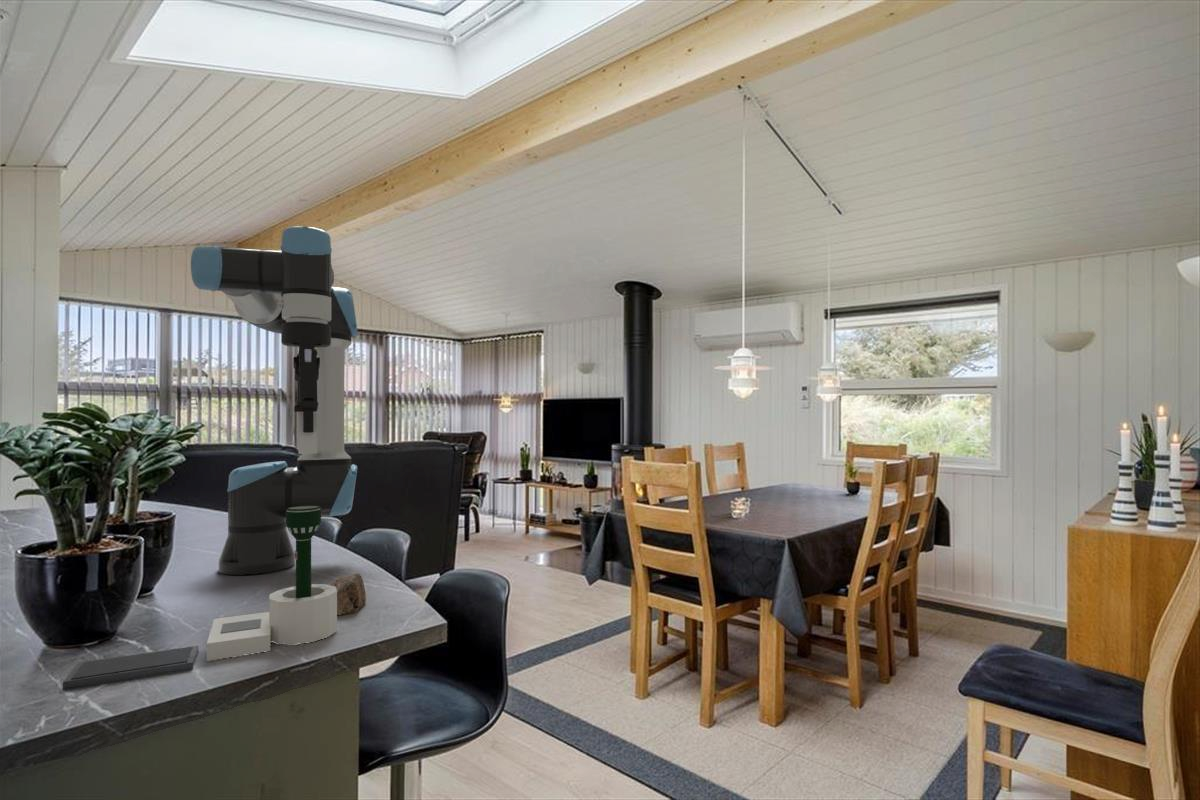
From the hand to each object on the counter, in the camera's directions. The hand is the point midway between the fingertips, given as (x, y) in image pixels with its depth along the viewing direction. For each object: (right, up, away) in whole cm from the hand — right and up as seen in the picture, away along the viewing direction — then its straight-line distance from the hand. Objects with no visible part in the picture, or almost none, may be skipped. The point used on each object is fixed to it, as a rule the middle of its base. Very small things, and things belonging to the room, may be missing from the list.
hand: (306, 450), depth 107 cm
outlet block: (-1, -29, -7) cm, 29 cm away
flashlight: (+2, -29, -6) cm, 29 cm away
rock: (+1, -29, +10) cm, 31 cm away
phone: (-15, -29, -19) cm, 37 cm away
